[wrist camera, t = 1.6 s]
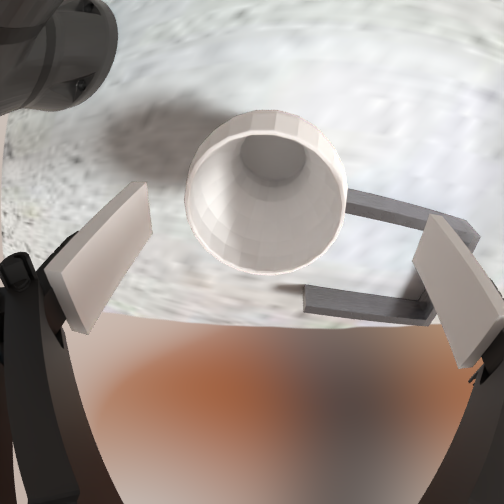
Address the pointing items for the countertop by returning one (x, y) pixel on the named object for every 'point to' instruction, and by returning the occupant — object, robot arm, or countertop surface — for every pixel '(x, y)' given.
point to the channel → (374, 305)
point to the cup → (266, 193)
